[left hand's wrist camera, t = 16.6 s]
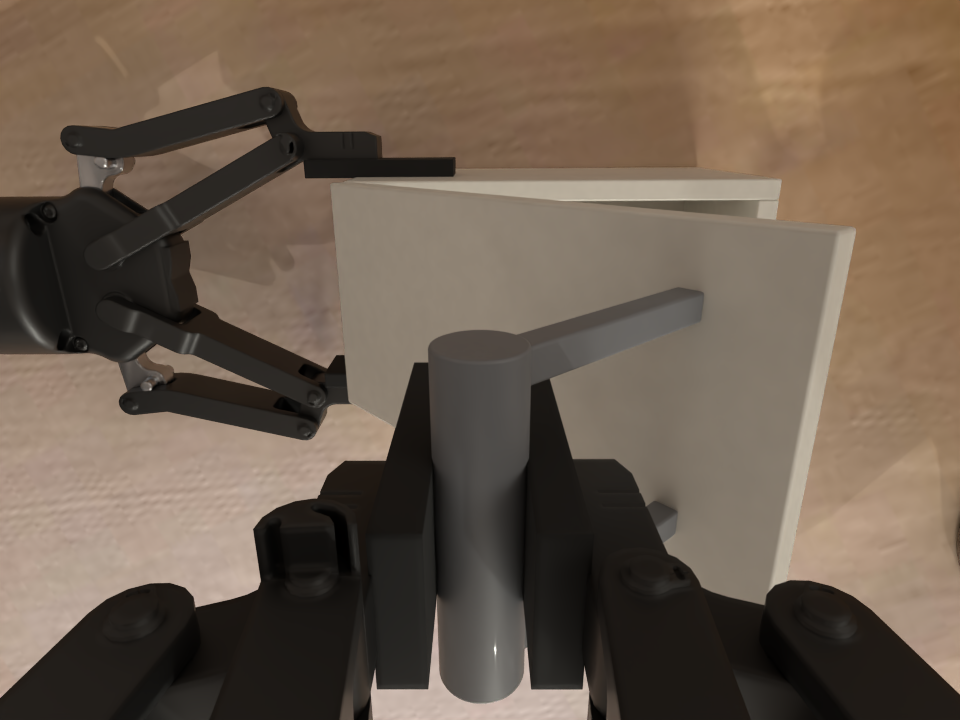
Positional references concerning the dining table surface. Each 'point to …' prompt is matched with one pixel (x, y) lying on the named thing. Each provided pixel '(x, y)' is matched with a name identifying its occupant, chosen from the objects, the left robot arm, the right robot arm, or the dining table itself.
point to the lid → (590, 378)
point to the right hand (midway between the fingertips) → (456, 274)
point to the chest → (616, 187)
